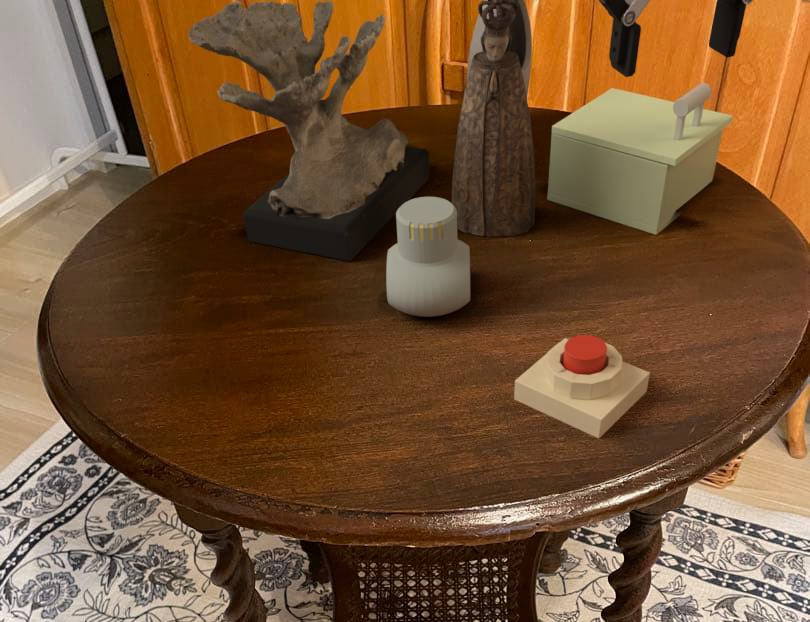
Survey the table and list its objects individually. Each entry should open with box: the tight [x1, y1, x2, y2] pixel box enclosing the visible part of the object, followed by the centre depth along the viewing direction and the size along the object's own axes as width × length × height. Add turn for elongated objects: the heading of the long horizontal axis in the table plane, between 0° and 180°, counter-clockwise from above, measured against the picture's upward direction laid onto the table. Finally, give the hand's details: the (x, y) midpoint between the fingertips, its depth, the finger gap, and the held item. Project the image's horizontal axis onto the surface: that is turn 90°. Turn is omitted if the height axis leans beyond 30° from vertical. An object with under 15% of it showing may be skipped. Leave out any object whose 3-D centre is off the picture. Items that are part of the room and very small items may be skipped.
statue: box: [451, 0, 536, 238], centre depth 90 cm, size 9×8×25 cm
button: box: [563, 334, 607, 375], centre depth 75 cm, size 4×4×2 cm
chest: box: [546, 129, 724, 236], centre depth 100 cm, size 15×13×8 cm
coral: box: [188, 0, 430, 262], centre depth 97 cm, size 25×20×22 cm
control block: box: [513, 337, 651, 439], centre depth 77 cm, size 9×8×4 cm
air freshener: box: [385, 196, 471, 318], centre depth 86 cm, size 11×8×10 cm
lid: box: [551, 82, 734, 166], centre depth 95 cm, size 15×13×5 cm
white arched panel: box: [465, 0, 533, 96], centre depth 105 cm, size 18×7×19 cm, turn 164°
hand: (672, 61), depth 75 cm, fingers open, 9 cm apart
